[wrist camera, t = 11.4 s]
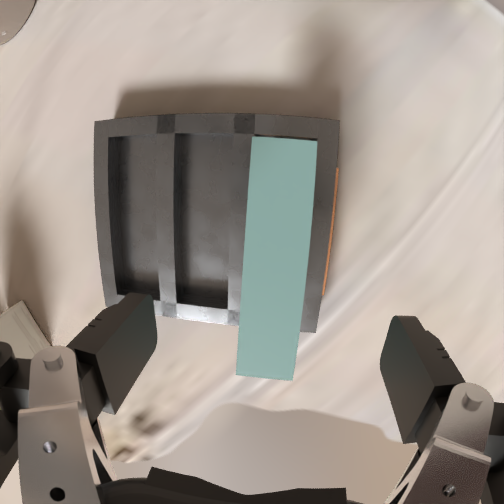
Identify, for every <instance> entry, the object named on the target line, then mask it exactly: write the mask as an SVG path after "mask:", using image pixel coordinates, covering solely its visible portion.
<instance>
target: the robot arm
mask: <svg viewBox="0 0 504 504" xmlns="http://www.w3.org/2000/svg"><path fill="white" fill-rule="evenodd" d="M34 3H35V0H0V44H4V43H6V42H8V41H9V40H10V39H12V38H13V37H14V36H15V35H16V34H17V32H18V31H19V30H20V29H21V27H22V26H23V25H24V23H25V22H26V20H27V18H28V17H29V15H30V13H31V11H32V8H33V6H34ZM156 344H157V328H156V319H155V311H154V302H153V298H152V296H151V295H147V294H140V293H133V292H130V293H128V294H127V295H126V296H125V297H124V298H123V299H122V300H121V301H120V302H119V303H118V304H114V305H112V306H110V307H108V308H106V309H104V310H102V311H101V312H100V313H99V314H98V315H97V316H96V317H95V320H94V319H93V320H92V321H91V322H90V323H89V324H88V326H86V327H85V328H84V329H83V330H82V331H81V332H80V333H79V334H78V335H77V336H76V337H75V338H74V339H73V340H72V341H71V342H70V343H69V344H68V345H67V346H66V347H65V346H51V347H47V348H44V349H42V350H40V351H39V352H37V353H36V354H35V355H34V357H33V358H32V359H24V358H16V357H15V355H14V352H13V350H12V347H11V345H10V344H8V343H6V342H1V341H0V409H1V410H0V488H1V486H2V484H3V483H4V481H5V479H6V478H7V476H8V474H9V473H10V471H11V469H12V468H13V466H14V464H15V463H16V461H17V460H19V475H20V486H21V494H22V502H23V504H362V503H359V502H354V501H351V500H347V498H346V488H330V489H329V488H326V489H304V488H297V489H292V490H286V491H279V492H272V493H264V494H255V495H244V494H240V493H237V492H234V491H231V490H228V489H226V488H223V487H220V486H218V485H215V484H212V483H210V482H207V481H205V480H203V479H200V478H197V477H193V476H188V475H183V474H179V473H175V472H170V471H166V470H162V469H158V468H154V467H152V468H151V470H150V472H149V475H148V477H147V478H128V479H120V480H118V479H117V476H116V474H115V472H114V470H113V467H112V464H111V461H110V458H109V454H108V451H107V448H106V444H105V440H104V437H103V433H102V429H101V425H100V422H99V419H98V416H99V414H100V413H101V411H103V412H106V413H109V414H113V415H115V414H116V413H117V411H118V409H119V408H120V406H121V404H122V403H123V401H124V399H125V398H126V396H127V394H128V393H129V391H130V389H131V388H132V386H133V385H134V383H135V381H136V380H137V378H138V376H139V375H140V373H141V372H142V370H143V368H144V367H145V365H146V364H147V362H148V360H149V359H150V357H151V355H152V354H153V352H154V350H155V348H156ZM444 349H445V348H444V347H443V345H442V343H441V342H440V340H439V339H438V338H437V337H435V336H434V335H433V334H432V333H430V332H429V331H425V329H424V328H423V326H422V325H421V323H420V322H419V320H418V319H417V317H416V316H394V317H393V318H392V320H391V323H390V326H389V330H388V333H387V337H386V340H385V344H384V347H383V350H382V353H381V358H380V370H381V374H382V377H383V380H384V383H385V386H386V389H387V392H388V395H389V398H390V401H391V404H392V408H393V411H394V414H395V417H396V421H397V424H398V427H399V431H400V434H401V438H402V441H403V444H407V443H415V442H417V444H418V449H417V450H416V452H415V453H414V455H413V457H412V459H411V460H410V462H409V464H408V466H407V468H406V469H405V471H404V473H403V475H402V476H401V478H400V480H399V482H398V483H397V484H396V486H395V488H394V490H393V491H392V492H391V494H390V495H389V497H388V498H387V500H386V501H385V502H384V504H479V501H480V499H481V503H482V504H504V403H497V402H494V401H493V398H492V396H491V395H490V393H489V392H488V391H487V390H486V389H484V388H483V387H481V386H479V385H477V384H473V383H466V382H465V380H464V379H463V377H462V375H461V374H460V372H459V370H458V369H457V367H456V365H455V364H454V362H453V361H452V359H451V358H449V357H450V356H449V354H448V353H447V351H446V350H444Z"/></svg>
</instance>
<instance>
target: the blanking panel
mask: <svg viewBox="0 0 504 504" xmlns="http://www.w3.org/2000/svg"><path fill="white" fill-rule="evenodd" d="M316 157H317V141H308V140H297V139H284V138H270V137H252V145H251V159H250V172H249V186H248V200H247V214H246V228H245V243H244V258H243V272H242V287H241V303H240V318H239V334H238V350H237V366H236V375H241V376H249V377H258V378H268V379H278V380H291V381H292V380H293V374H294V368H295V361H296V354H297V347H298V340H299V333H300V325H301V317H302V310H303V301H304V293H305V284H306V276H307V266H308V257H309V247H310V236H311V225H312V213H313V201H314V188H315V173H316Z"/></svg>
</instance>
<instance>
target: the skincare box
mask: <svg viewBox="0 0 504 504" xmlns="http://www.w3.org/2000/svg"><path fill="white" fill-rule="evenodd" d="M0 341H1V342H6V343H8V344H10V345H11V347H12V350H13V352H14V355H15V357H16V358H24V359H32V358H33V357H34V355H35V354H36V353H37V352H39V351H40V350H42V349H44V348H47V347H51V345H50V344H49V342H48V341H47V339H46V338H45V336H44V335H43V333H42V332H41V330H40V329H39V327H38V325H37V324H36V322H35V321H34V319H33V317H32V316H31V314H30V312H29V311H28V309H27V307H26V305H25V304H24V302H23V301H20V302H18V303H17V304H15V305H13V306H12V307H10V308H9V309H7V310H6V311H4V312H3V313H2V314H0Z"/></svg>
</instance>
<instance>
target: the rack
mask: <svg viewBox="0 0 504 504" xmlns="http://www.w3.org/2000/svg"><path fill="white" fill-rule="evenodd" d="M339 122H340V121H339V120H331V119H322V118H311V117H300V116H287V115H270V114H244V113H195V114H169V115H153V116H140V117H129V118H119V119H110V120H102V121H95V125H94V196H95V215H96V229H97V241H98V251H99V260H100V269H101V276H102V284H103V291H104V297H105V304H106V306H107V307H110V306H112V305H114V304H118V303H119V302H120V301H121V300H122V299H123V298H124V297H125V296H126V295H127V294H128V293H130V292H133V293H140V294H147V295H151V296H152V298H153V302H154V311H155V315H159V316H166V317H172V318H179V319H186V320H193V321H201V322H209V323H217V324H225V325H234V326H239V318H240V303H241V287H242V272H243V258H244V243H245V228H246V214H247V200H248V186H249V172H250V159H251V145H252V137H270V138H284V139H297V140H308V141H317V157H316V173H315V188H314V201H313V213H312V225H311V236H310V247H309V257H308V266H307V276H306V284H305V293H304V301H303V310H302V317H301V325H300V332H311V333H316V328H317V322H318V316H319V310H320V303H321V297H322V295H324V291H325V284H326V278H327V271H328V263H329V256H330V248H331V240H332V232H333V223H334V214H335V205H336V194H337V184H338V172H339V168H337V155H338V140H339Z"/></svg>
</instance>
